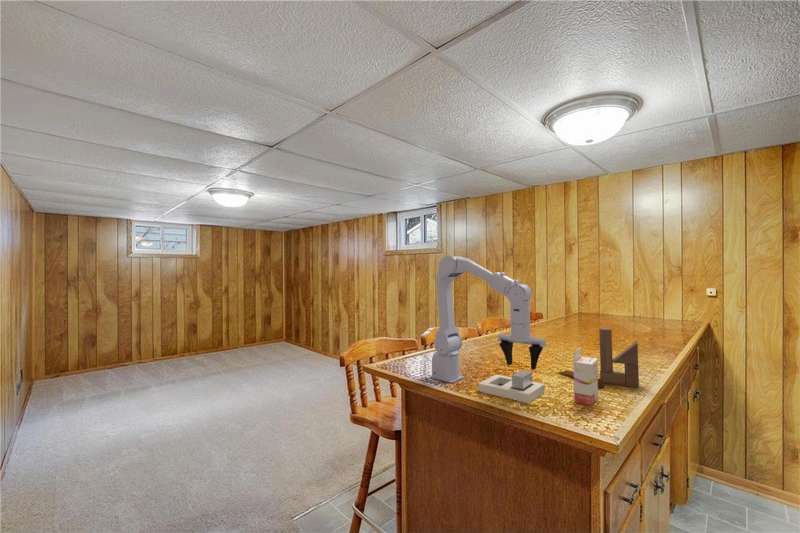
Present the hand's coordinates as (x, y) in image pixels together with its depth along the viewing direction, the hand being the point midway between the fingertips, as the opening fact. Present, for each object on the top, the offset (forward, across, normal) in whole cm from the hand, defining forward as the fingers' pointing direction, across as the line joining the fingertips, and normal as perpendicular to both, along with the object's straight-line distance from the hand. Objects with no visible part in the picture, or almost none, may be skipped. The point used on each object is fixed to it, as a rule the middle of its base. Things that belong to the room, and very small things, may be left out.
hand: (521, 366), depth 109 cm
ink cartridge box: (+9, -16, -7) cm, 20 cm away
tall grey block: (+8, 0, 0) cm, 8 cm away
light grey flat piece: (+8, +4, 0) cm, 9 cm away
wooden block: (+9, -20, -29) cm, 37 cm away
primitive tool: (+9, -9, -26) cm, 29 cm away
